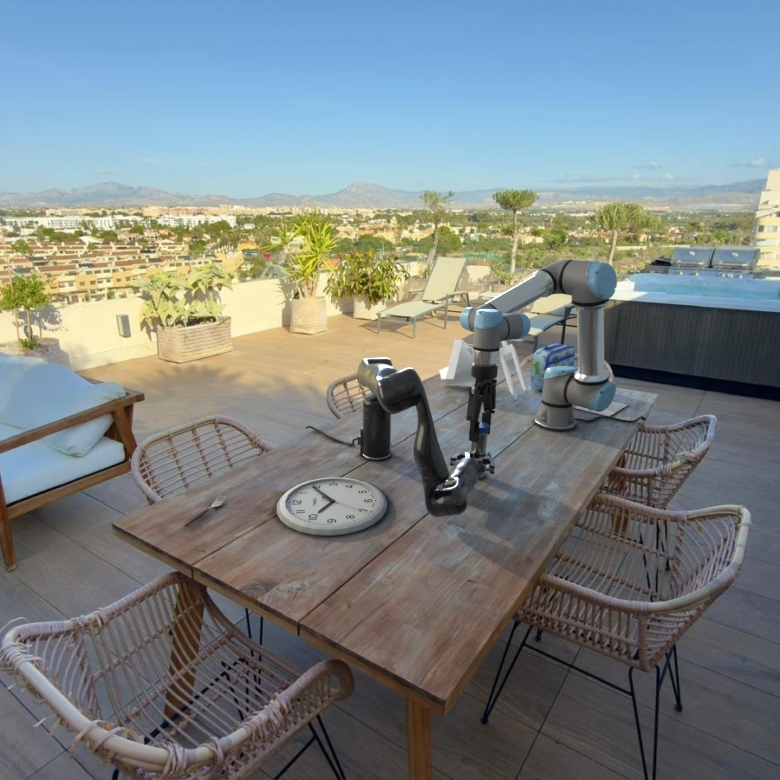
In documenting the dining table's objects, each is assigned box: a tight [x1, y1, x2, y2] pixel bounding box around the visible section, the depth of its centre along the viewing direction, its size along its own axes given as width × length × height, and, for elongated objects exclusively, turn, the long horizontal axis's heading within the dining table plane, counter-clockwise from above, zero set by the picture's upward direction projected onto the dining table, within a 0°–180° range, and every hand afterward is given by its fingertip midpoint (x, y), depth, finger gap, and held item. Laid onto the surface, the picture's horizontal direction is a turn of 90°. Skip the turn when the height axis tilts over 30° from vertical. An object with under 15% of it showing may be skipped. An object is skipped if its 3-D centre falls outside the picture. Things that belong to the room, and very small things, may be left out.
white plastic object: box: [438, 338, 531, 400], centre depth 245 cm, size 37×45×31 cm
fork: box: [184, 492, 228, 527], centre depth 137 cm, size 3×16×2 cm, turn 160°
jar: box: [470, 433, 488, 480], centre depth 159 cm, size 4×4×16 cm
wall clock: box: [276, 476, 388, 537], centre depth 142 cm, size 30×2×30 cm
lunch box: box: [530, 343, 576, 391], centre depth 249 cm, size 26×11×21 cm, turn 134°
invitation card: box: [573, 400, 629, 417], centre depth 226 cm, size 21×1×15 cm
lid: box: [479, 421, 489, 433], centre depth 157 cm, size 5×5×2 cm
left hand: (480, 453), depth 162 cm, fingers closed on jar, 4 cm apart
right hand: (479, 437), depth 158 cm, fingers open, 7 cm apart
